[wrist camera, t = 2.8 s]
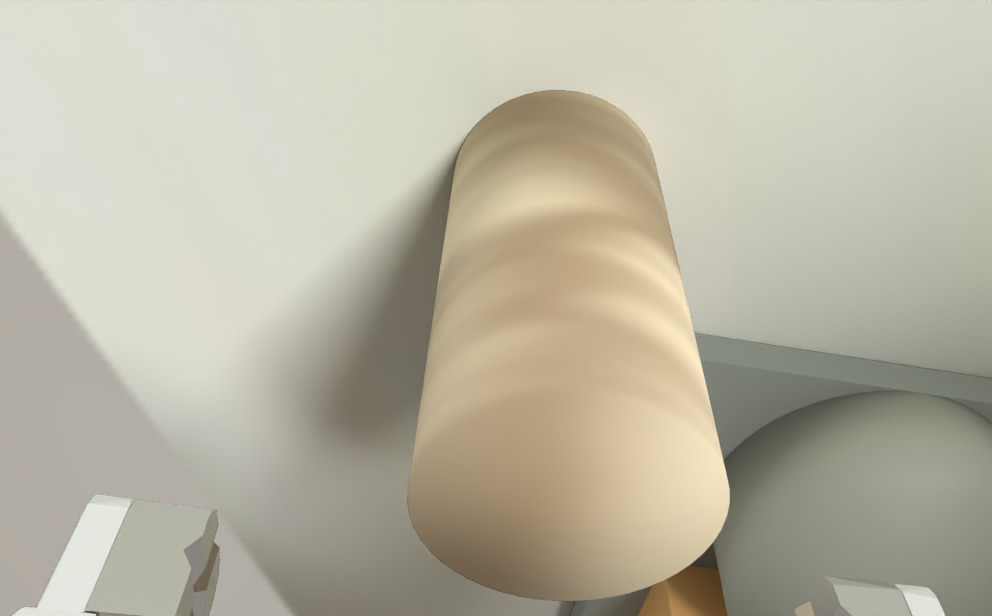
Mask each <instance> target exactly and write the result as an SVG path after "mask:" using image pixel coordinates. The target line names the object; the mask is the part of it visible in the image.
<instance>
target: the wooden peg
mask: <svg viewBox="0 0 992 616" xmlns="http://www.w3.org/2000/svg"><path fill="white" fill-rule="evenodd" d="M407 503H408V510H409V515H410V518H411V521H412V524H413V527H414V529H415V530H416V532H417V534H418V536H419V537H420V539H421V541H422V542H423V543H424V544H425V546H426V547H427V548H428V549H429V551H430V552H431V553H433V554H434V555H435V556H436V557H437V558H438V559H439V560H440V561H441V562H442V563H444V564H445V565H447V566H448V567H449V568H451V569H452V570H453V571H455V572H457V573H459V574H460V575H462V576H464V577H465V578H467V579H469V580H472V581H474V582H476V583H478V584H480V585H483V586H485V587H488V588H491V589H494V590H497V591H500V592H504V593H508V594H512V595H516V596H521V597H527V598H533V599H541V600H553V601H580V600H594V599H601V598H608V597H614V596H618V595H623V594H627V593H631V592H634V591H637V590H640V589H644V588H647V587H649V586H652V585H654V584H656V583H659V582H661V581H663V580H665V579H667V578H669V577H671V576H673V575H675V574H677V573H678V572H680V571H681V570H683V569H684V568H686V567H687V566H689V565H690V564H692V563H693V562H694V561H695V560H696V559H697V558H699V557H700V556H701V555H702V554H703V553H704V552H705V551H706V550H707V549H708V548H709V546H710V545H711V544H712V543H713V542H714V540H715V539H716V537H717V536H718V534H719V533H720V531H721V529H722V527H723V524H724V522H725V520H726V517H727V513H728V508H729V504H730V489H729V484H728V479H727V474H726V470H725V465H724V461H723V457H722V452H721V448H720V444H719V439H718V435H717V430H716V426H715V422H714V417H713V413H712V409H711V404H710V400H709V395H708V391H707V387H706V382H705V378H704V374H703V369H702V365H701V361H700V356H699V352H698V347H697V343H696V339H695V334H694V330H693V326H692V321H691V317H690V312H689V308H688V304H687V299H686V295H685V291H684V286H683V282H682V277H681V273H680V269H679V264H678V260H677V256H676V251H675V247H674V243H673V238H672V234H671V229H670V225H669V221H668V216H667V212H666V208H665V203H664V199H663V194H662V190H661V186H660V181H659V177H658V173H657V168H656V164H655V159H654V155H653V152H652V150H651V147H650V144H649V142H648V141H647V139H646V137H645V135H644V134H643V132H642V131H641V130H640V128H639V127H638V126H637V124H636V123H635V122H634V121H633V120H632V119H631V118H630V117H629V116H628V115H627V114H625V113H624V112H623V111H621V110H620V109H619V108H617V107H616V106H614V105H612V104H610V103H608V102H607V101H605V100H603V99H600V98H597V97H595V96H592V95H589V94H584V93H580V92H575V91H566V90H548V91H541V92H534V93H530V94H526V95H523V96H520V97H517V98H515V99H512V100H510V101H507V102H506V103H504V104H502V105H500V106H498V107H497V108H495V109H494V110H492V111H491V112H490V113H488V114H487V115H486V116H485V117H484V118H483V119H482V120H480V121H479V122H478V123H477V124H476V125H475V127H474V128H473V129H472V131H471V132H470V133H469V134H468V136H467V138H466V139H465V141H464V143H463V145H462V147H461V149H460V152H459V154H458V157H457V161H456V165H455V170H454V176H453V183H452V190H451V197H450V204H449V211H448V217H447V224H446V231H445V238H444V245H443V252H442V258H441V265H440V272H439V279H438V286H437V293H436V299H435V306H434V313H433V320H432V327H431V334H430V340H429V347H428V354H427V361H426V368H425V375H424V381H423V388H422V395H421V402H420V409H419V416H418V422H417V429H416V436H415V443H414V450H413V457H412V463H411V470H410V477H409V484H408V496H407Z"/></svg>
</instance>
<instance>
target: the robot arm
mask: <svg viewBox="0 0 992 616" xmlns="http://www.w3.org/2000/svg"><path fill="white" fill-rule="evenodd" d="M217 529H218V515H217V510H215V509H207V508H199V507H192V506H184V505H177V504H169V503H162V502H154V501H147V500H139V499H133V498H124V497H116V496H107V495H98V494H96V495H94V496H93V498H92V499H91V500H90V501H89V502H88V503H87V504H86V505H85V507H84V509H83V511H82V514H81V516H80V518H79V520H78V522H77V524H76V526H75V528H74V530H73V532H72V534H71V536H70V538H69V540H68V542H67V545H66V546H65V548H64V550H63V552H62V554H61V556H60V558H59V561H58V562H57V565H56V567H55V569H54V571H53V573H52V575H51V577H50V579H49V581H48V583H47V585H46V587H45V589H44V591H43V593H42V595H41V597H40V599H39V601H38V603H37V605H36V607H22V608H20V609H19V610H17V611H16V612H15V613H13V614H12V615H11V616H209V613H210V610H211V606H212V602H213V599H214V595H215V589H216V585H217V580H218V574H219V562H220V555H219V553H220V552H219V547H218V546H217V545H216V544H215V543H214V538H215V535H216V532H217ZM807 593H808V596H809V599H810V602H808V603H806V604H804V605H802V606H800V607H798V608H796V609H794V611H793V613H792V614H791V616H945V614H944V612H943V609H942V607H941V605H940V603H939V601H938V599H937V597H936V595H935V594H934V593H933V592H932V591H931V590H930V589H929V588H927V587H922V586H913V585H902V584H890V583H888V582H883V581H873V580H862V579H852V578H841V577H831V576H821V577H819V578H816V579H814V581H813V582H812V583H811V585H810V586H809V588H808V589H807Z"/></svg>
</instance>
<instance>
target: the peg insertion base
mask: <svg viewBox="0 0 992 616" xmlns="http://www.w3.org/2000/svg"><path fill="white" fill-rule="evenodd" d="M694 334H695V339H696V343H697V347H698V352H699V356H700V361H701V365H702V369H703V374H704V378H705V382H706V387H707V391H708V395H709V400H710V404H711V409H712V413H713V417H714V422H715V426H716V430H717V435H718V439H719V444H720V448H721V452H722V457H723V461H724V465H725V470H726V474H727V479H728V484H729V489H730V504H729V508H728V513H727V517H726V520H725V522H724V524H723V527H722V529H721V531H720V533H719V534H718V536H717V537H716V539H715V540H714V542H713V543H712V544H711V545H710V546H709V548H708V549H707V550H706V551H705V552H704V553H703V554H702V555H701V556H700V557H699V558H697V559H696V560H695V561H694V562H693V563H692V564H690V565H689V566H687V567H686V568H684V569H683V570H681V571H680V572H678V573H677V574H675V575H673V576H671V577H669V578H667V579H665V580H663V581H661V582H659V583H656V584H654V585H652V586H649V587H647V588H644V589H640V590H637V591H634V592H631V593H627V594H623V595H618V596H614V597H608V598H601V599H594V600H580V601H575V604H574V606H573V609H572V611H571V614H570V616H791V614H792V613H793V611H794V609H796V608H798V607H800V606H802V605H804V604H806V603H808V602H810V599H809V596H808V593H807V589H808V588H809V586H810V585H811V583H812V582H813V581H814V579H816V578H819V577H821V576H831V577H841V578H852V579H862V580H873V581H883V582H888V583H890V584H902V585H913V586H922V587H927V588H929V589H930V590H931V591H932V592H933V593H934V594H935V595H936V597H937V599H938V601H939V603H940V605H941V607H942V609H943V612H944V614H945V616H992V379H991V378H984V377H978V376H971V375H965V374H958V373H952V372H945V371H938V370H932V369H925V368H919V367H912V366H906V365H899V364H893V363H886V362H880V361H873V360H867V359H860V358H854V357H847V356H840V355H834V354H827V353H821V352H814V351H808V350H801V349H795V348H788V347H782V346H775V345H769V344H762V343H756V342H749V341H742V340H736V339H729V338H723V337H716V336H710V335H703V334H697V333H694Z"/></svg>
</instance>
